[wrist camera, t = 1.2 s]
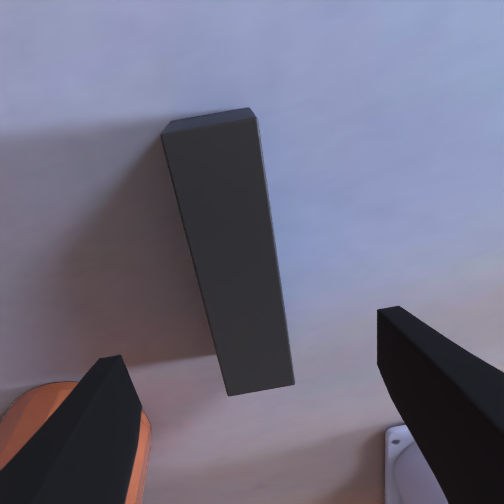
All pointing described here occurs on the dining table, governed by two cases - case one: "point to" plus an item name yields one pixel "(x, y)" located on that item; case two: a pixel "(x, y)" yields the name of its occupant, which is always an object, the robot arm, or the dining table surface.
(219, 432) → the dining table surface
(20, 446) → the cup
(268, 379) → the black bar
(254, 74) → the dining table surface
